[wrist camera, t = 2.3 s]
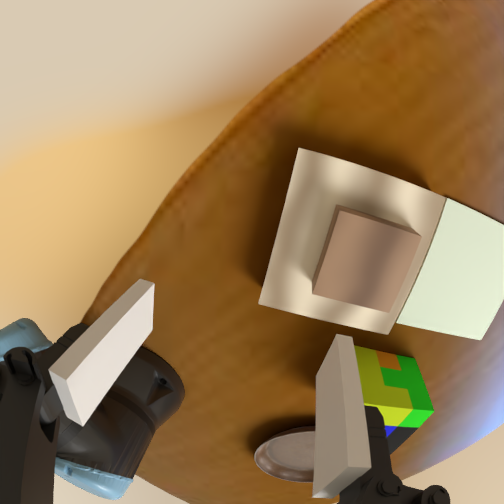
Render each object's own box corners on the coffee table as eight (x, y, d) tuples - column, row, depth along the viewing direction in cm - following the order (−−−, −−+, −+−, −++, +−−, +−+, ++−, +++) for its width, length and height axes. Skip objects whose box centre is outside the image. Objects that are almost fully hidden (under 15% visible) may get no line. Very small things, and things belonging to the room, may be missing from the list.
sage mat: (395, 320, 32) (396, 322, 32) (445, 197, 26) (447, 198, 26) (479, 338, 31) (480, 340, 31) (527, 238, 25) (529, 239, 25)
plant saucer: (279, 406, 41) (277, 422, 38) (388, 427, 40) (391, 441, 37) (243, 457, 49) (240, 470, 46) (333, 474, 48) (333, 486, 45)
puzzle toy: (323, 393, 39) (324, 449, 29) (353, 344, 35) (363, 403, 25) (381, 403, 38) (389, 454, 29) (414, 358, 34) (434, 410, 25)
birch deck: (262, 288, 34) (258, 303, 30) (298, 147, 27) (298, 147, 24) (381, 317, 33) (387, 334, 29) (431, 191, 26) (445, 197, 23)
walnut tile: (311, 281, 29) (312, 294, 26) (336, 204, 25) (339, 210, 23) (383, 300, 28) (389, 312, 26) (412, 228, 25) (421, 236, 23)
